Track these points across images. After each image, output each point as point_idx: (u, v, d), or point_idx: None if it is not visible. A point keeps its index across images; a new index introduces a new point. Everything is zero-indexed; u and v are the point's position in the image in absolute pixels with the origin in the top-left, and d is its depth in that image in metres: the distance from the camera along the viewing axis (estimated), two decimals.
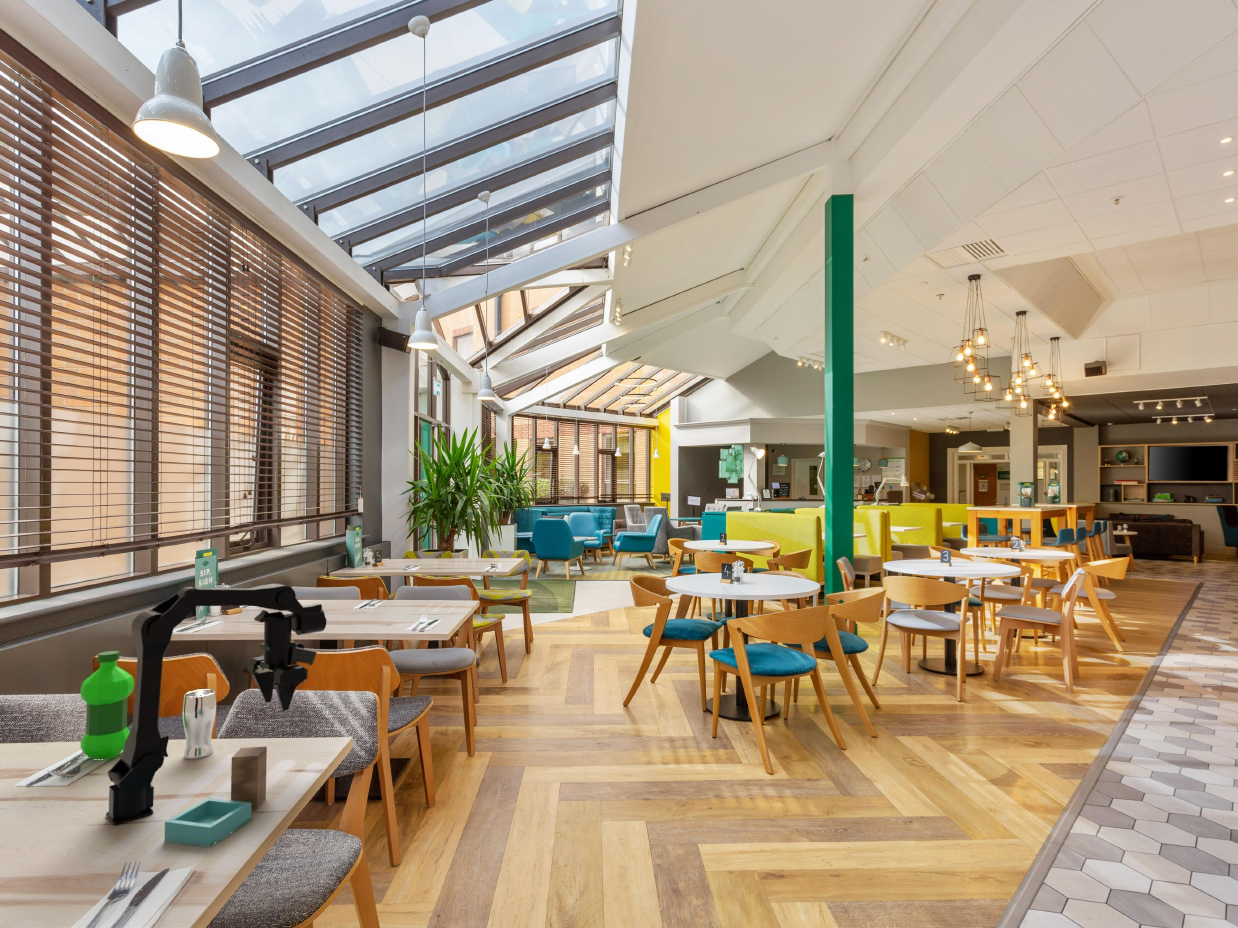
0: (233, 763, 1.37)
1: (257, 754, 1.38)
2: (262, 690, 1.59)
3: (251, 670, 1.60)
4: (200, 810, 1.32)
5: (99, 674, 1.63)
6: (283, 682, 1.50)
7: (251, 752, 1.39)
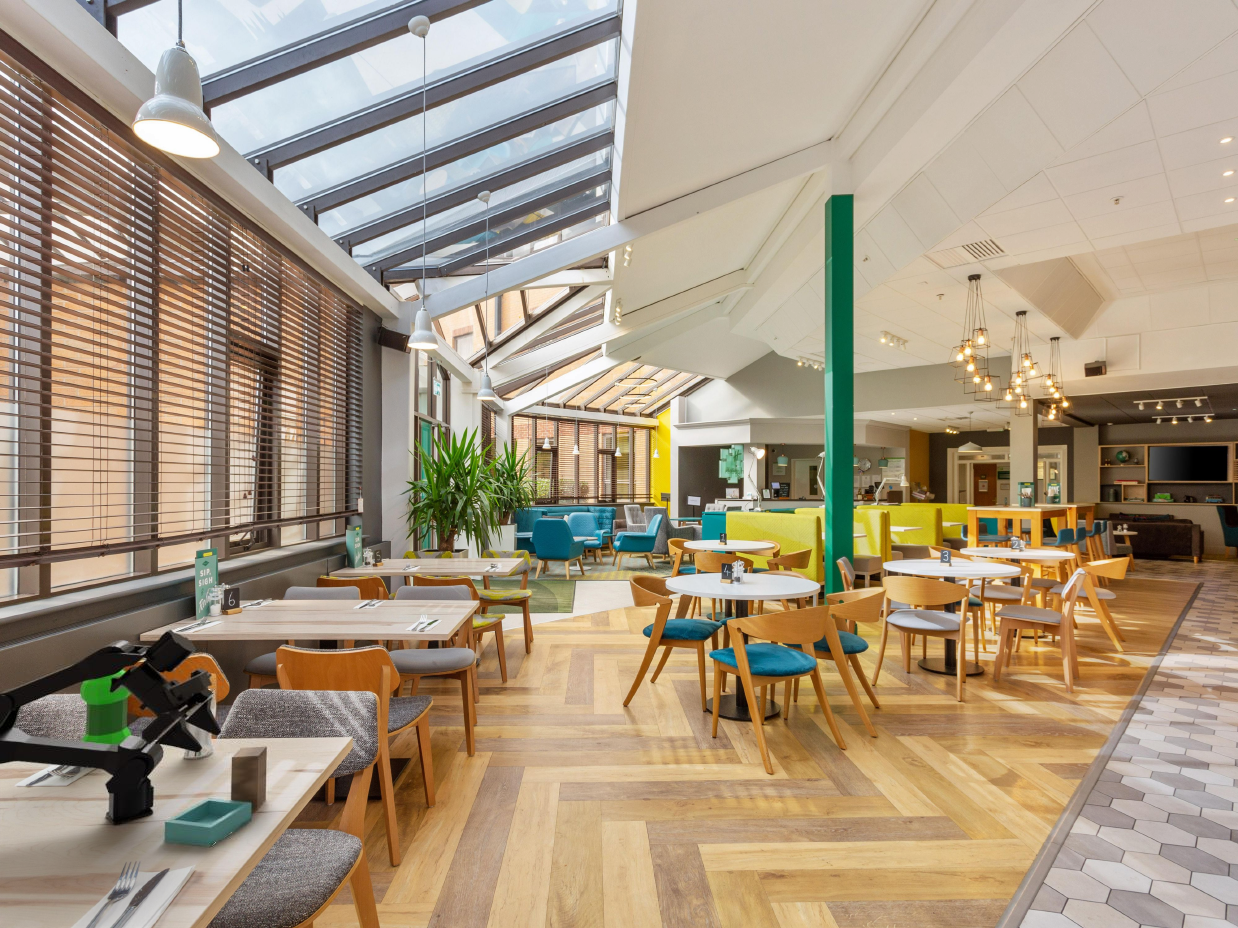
0: (233, 763, 1.37)
1: (258, 754, 1.38)
2: (203, 728, 1.42)
3: None
4: (200, 810, 1.32)
5: None
6: (148, 742, 1.28)
7: (251, 752, 1.39)
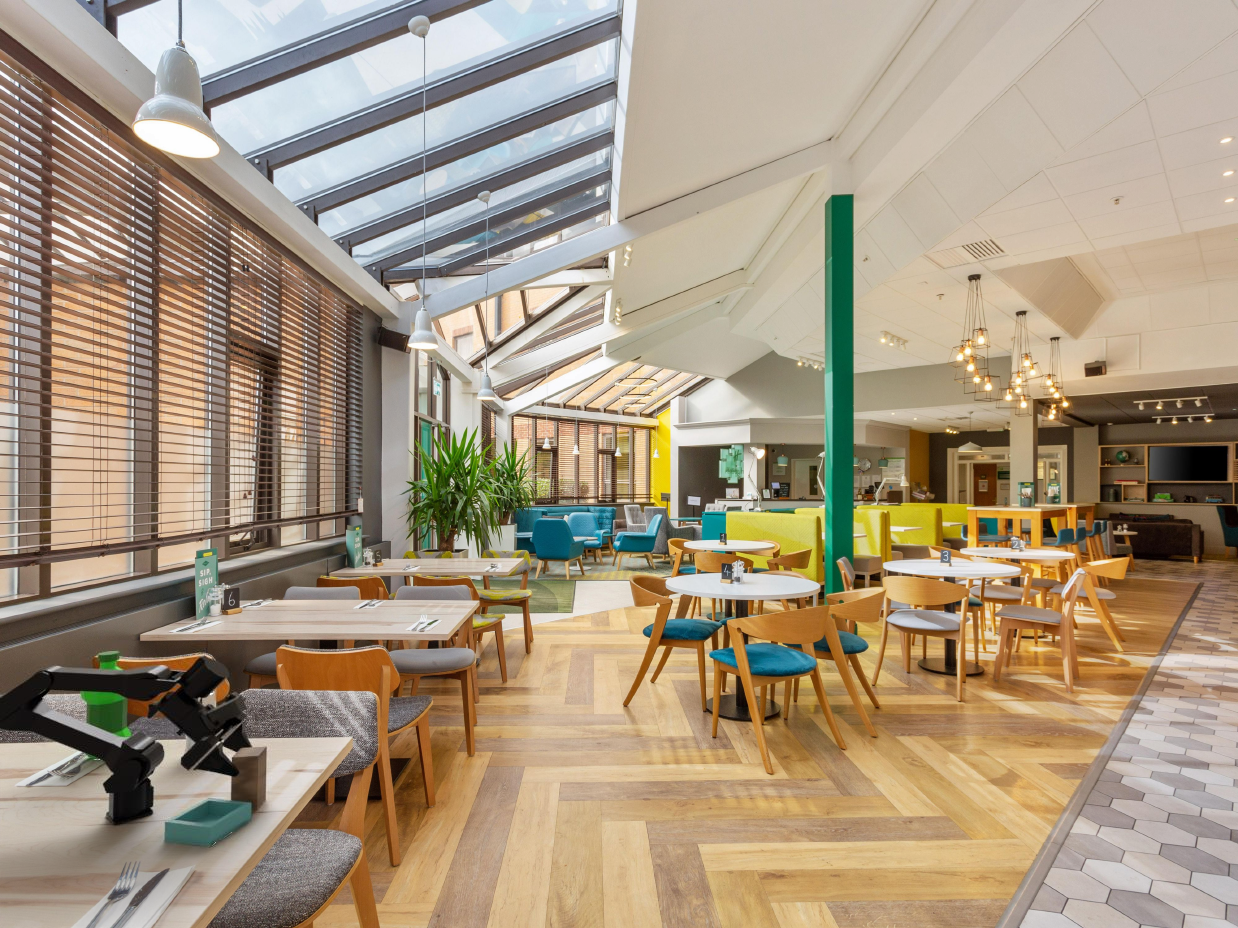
0: (233, 763, 1.37)
1: (258, 754, 1.38)
2: None
3: None
4: (200, 810, 1.32)
5: None
6: (187, 768, 1.29)
7: (251, 752, 1.39)
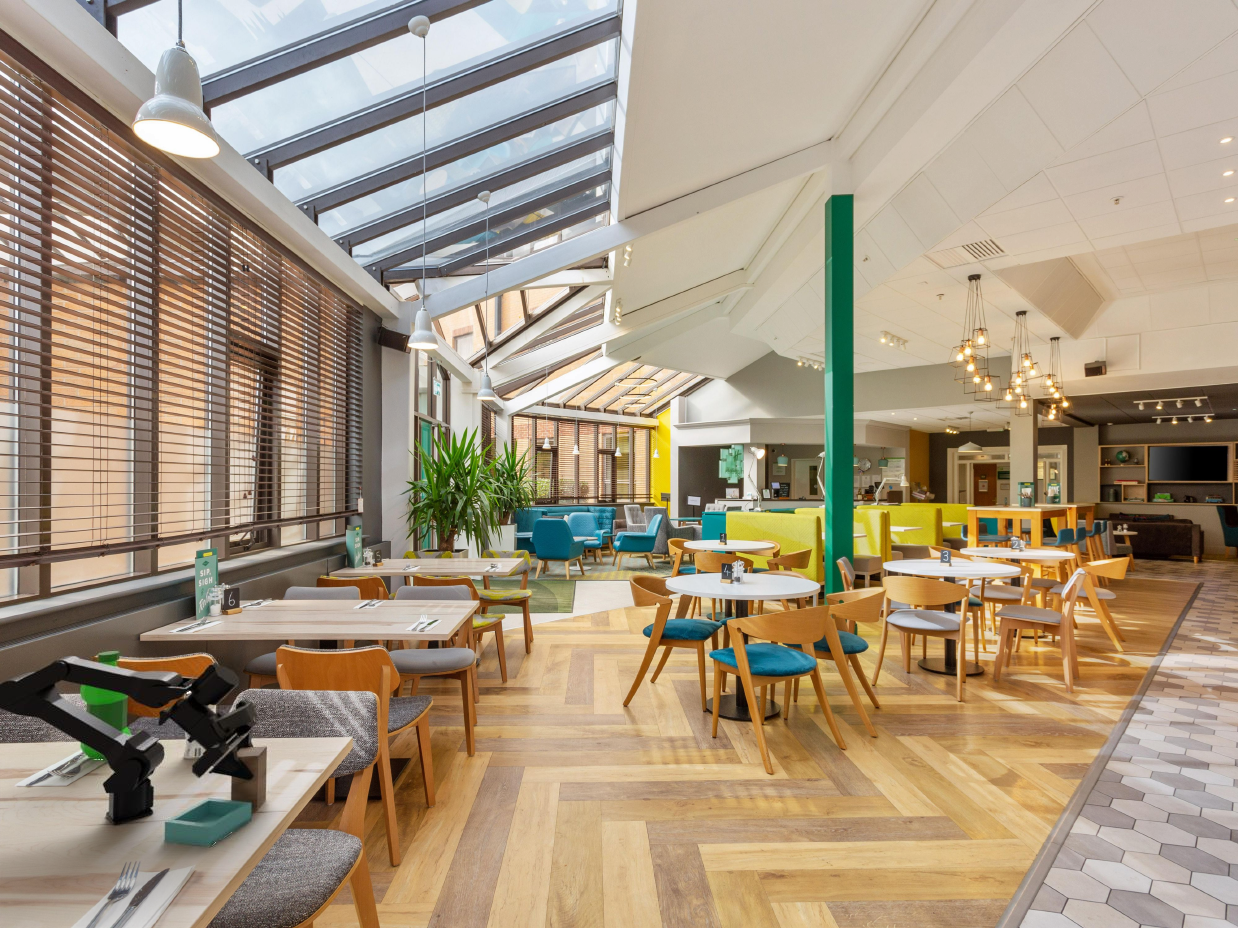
0: None
1: (258, 754, 1.38)
2: None
3: None
4: (200, 810, 1.32)
5: None
6: (198, 776, 1.29)
7: (251, 751, 1.39)
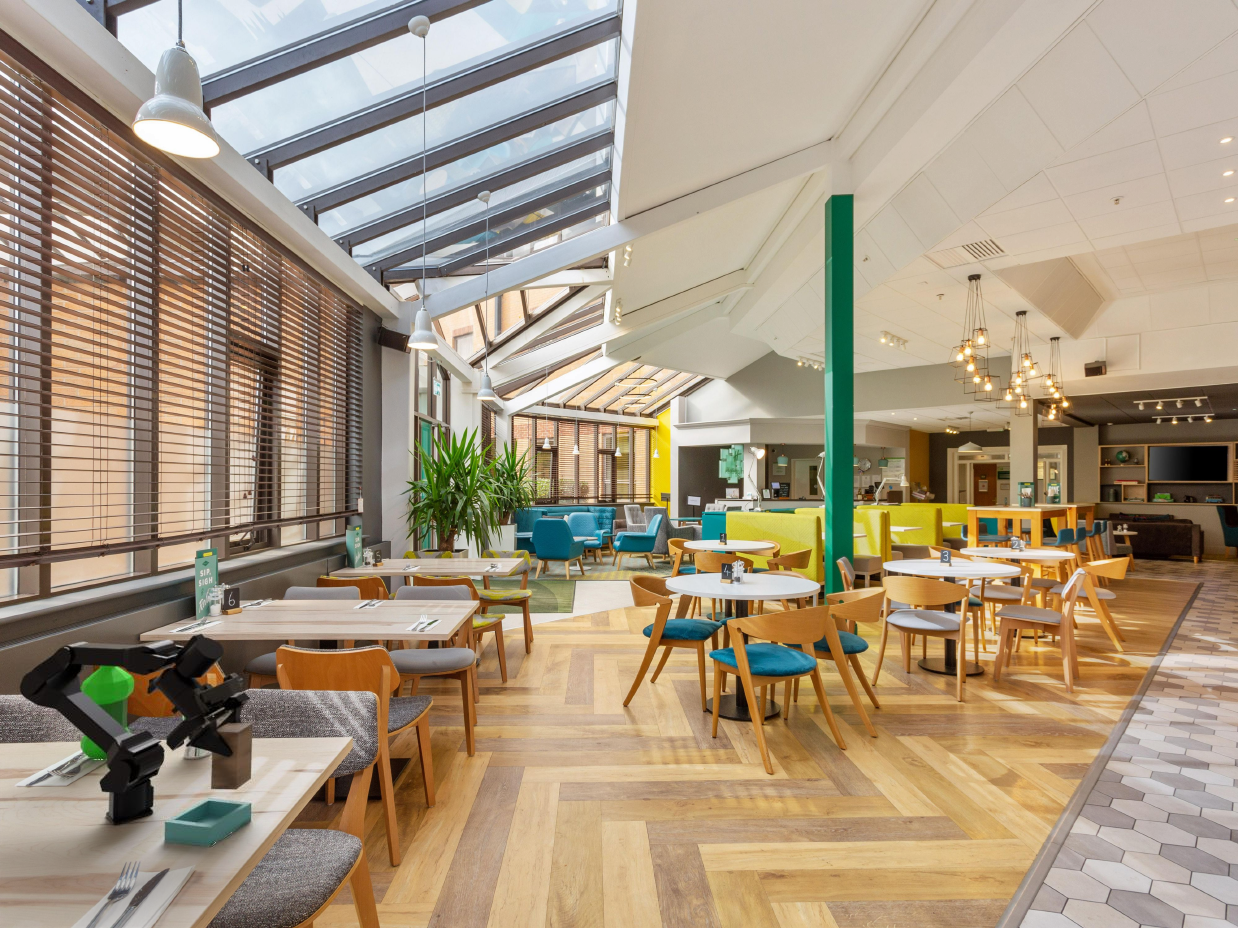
0: None
1: (238, 730, 1.32)
2: None
3: None
4: (200, 810, 1.32)
5: (99, 674, 1.63)
6: (171, 748, 1.25)
7: (234, 727, 1.34)
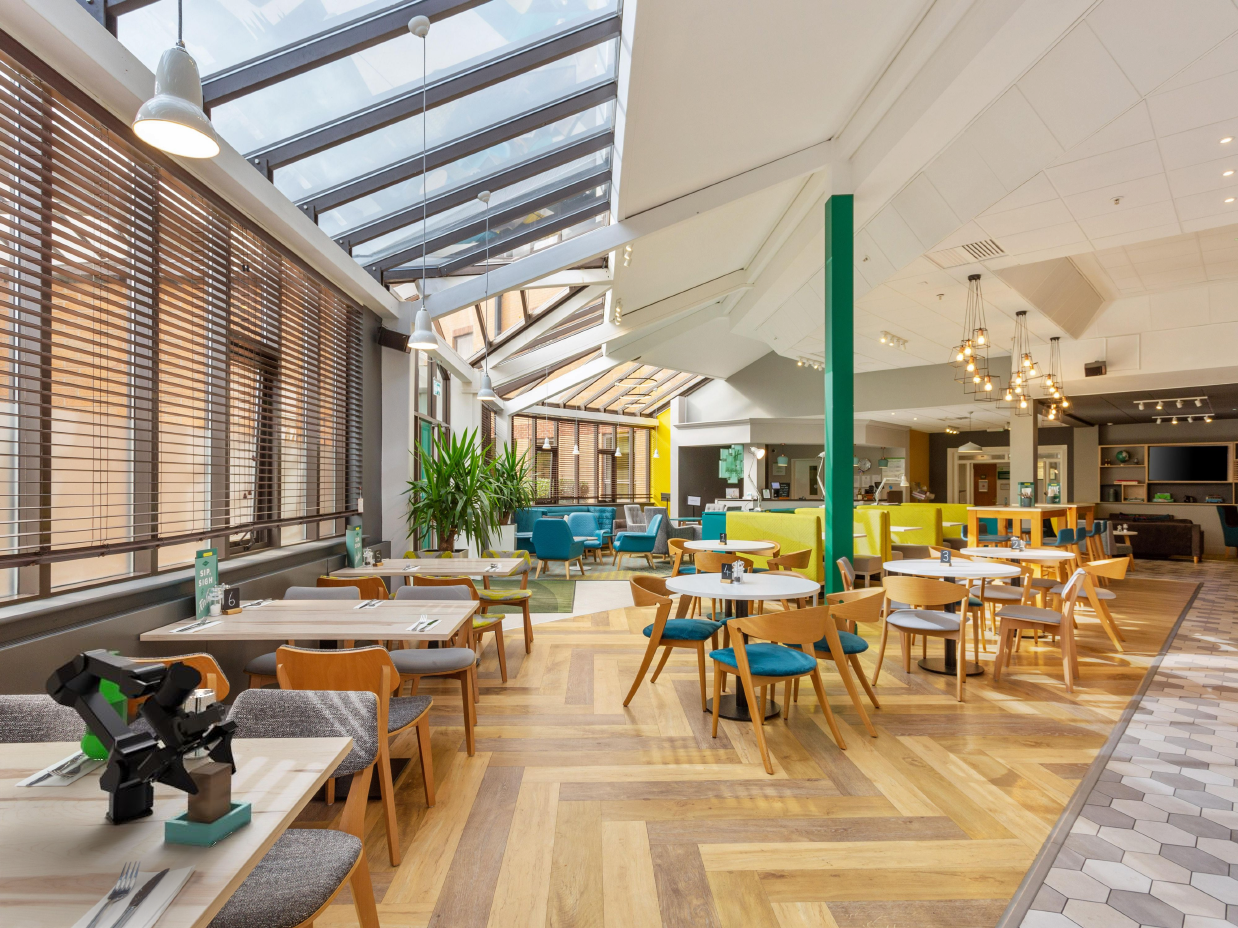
0: None
1: (212, 772, 1.27)
2: None
3: None
4: None
5: None
6: (141, 780, 1.22)
7: (210, 768, 1.29)
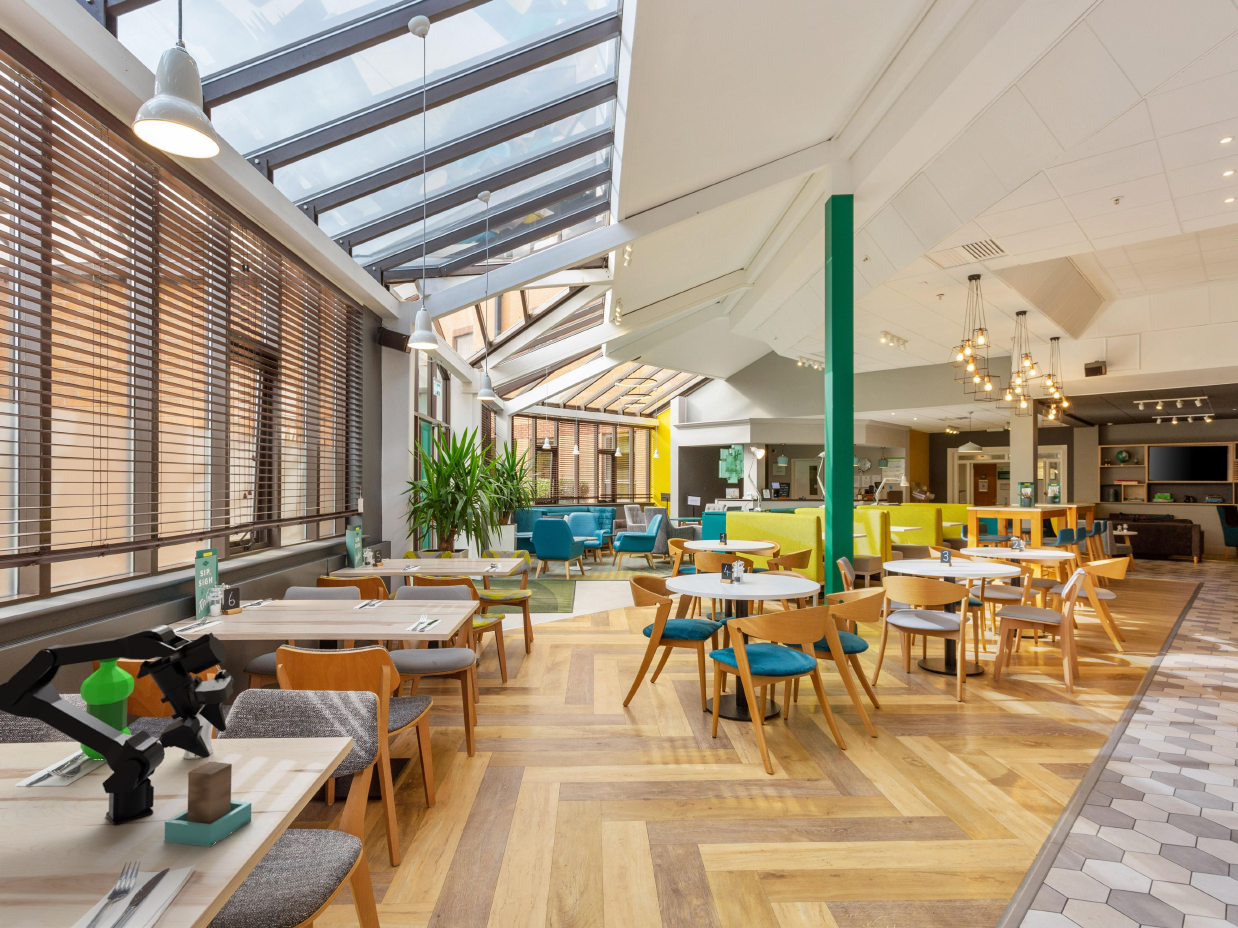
0: (189, 778, 1.27)
1: (212, 772, 1.27)
2: (210, 722, 1.46)
3: None
4: None
5: (99, 674, 1.63)
6: (164, 746, 1.31)
7: (210, 768, 1.29)
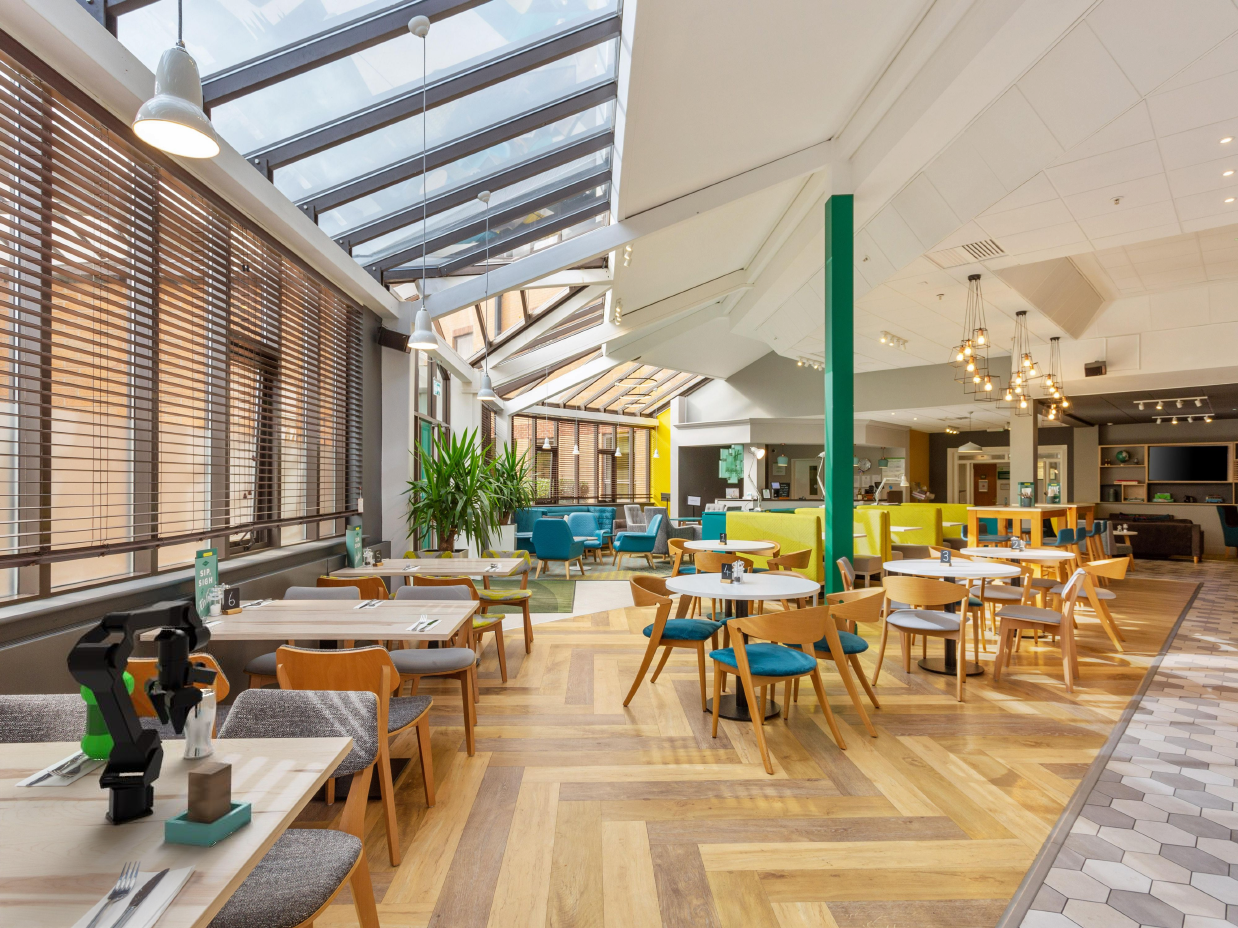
0: (189, 778, 1.27)
1: (212, 772, 1.27)
2: (158, 712, 1.52)
3: (146, 691, 1.52)
4: None
5: None
6: (173, 705, 1.42)
7: (210, 768, 1.29)
